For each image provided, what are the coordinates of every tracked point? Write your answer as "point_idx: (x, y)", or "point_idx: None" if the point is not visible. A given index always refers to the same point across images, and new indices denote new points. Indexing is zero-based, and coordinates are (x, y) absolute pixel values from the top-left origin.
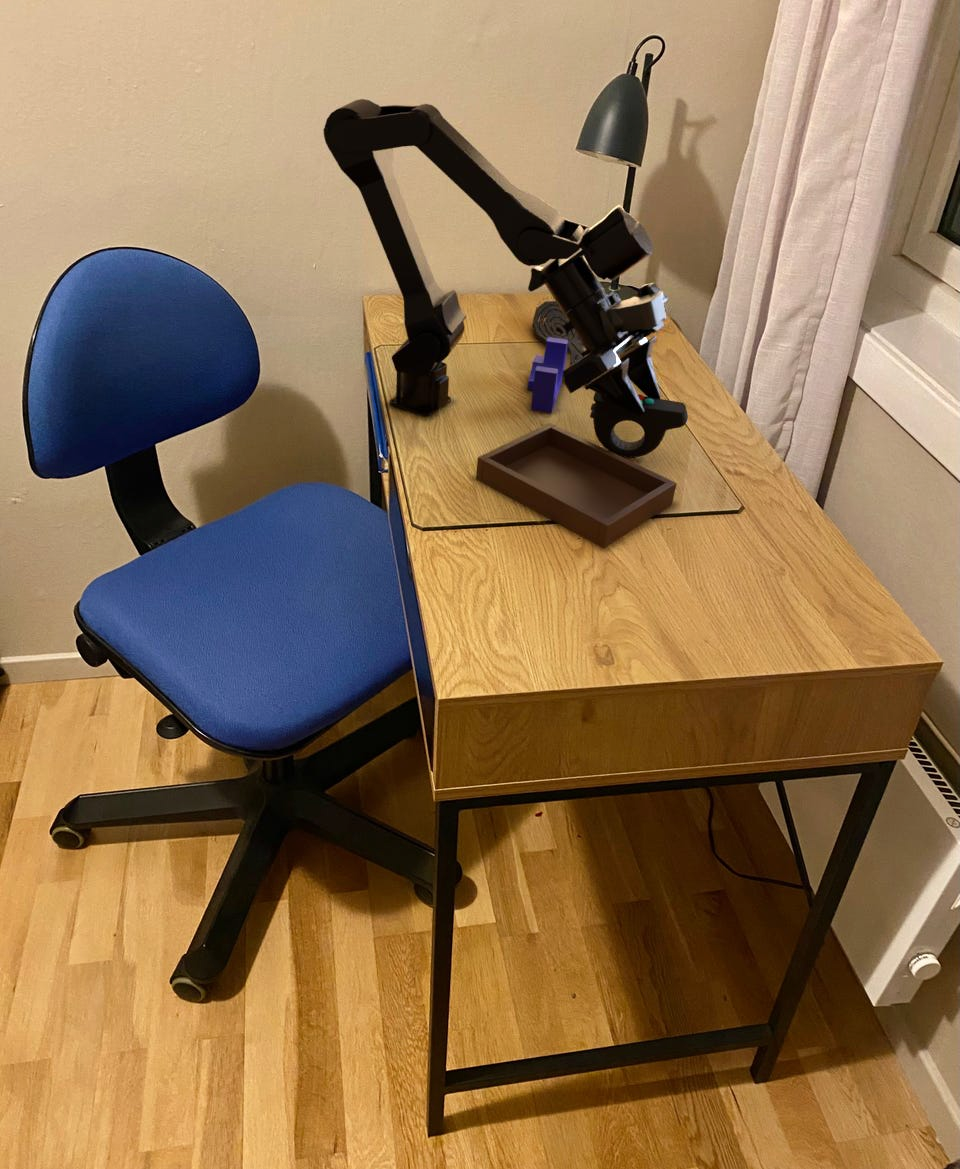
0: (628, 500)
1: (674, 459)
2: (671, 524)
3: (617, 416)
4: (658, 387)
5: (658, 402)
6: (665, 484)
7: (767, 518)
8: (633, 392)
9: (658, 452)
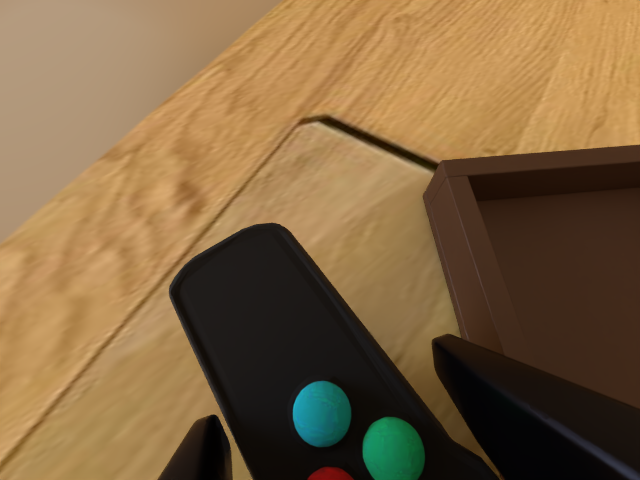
0: (526, 243)
1: None
2: (474, 157)
3: None
4: (163, 474)
5: (268, 378)
6: (474, 169)
7: (296, 85)
8: (600, 409)
9: None
